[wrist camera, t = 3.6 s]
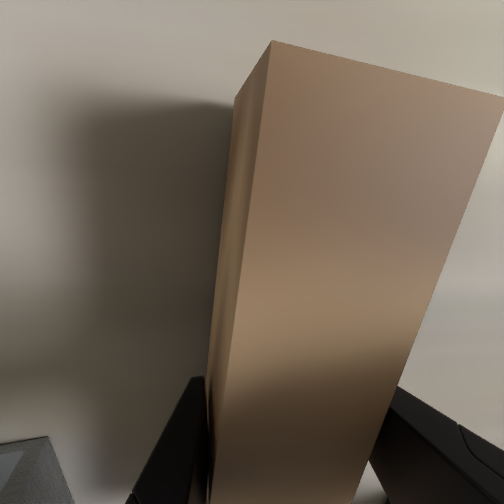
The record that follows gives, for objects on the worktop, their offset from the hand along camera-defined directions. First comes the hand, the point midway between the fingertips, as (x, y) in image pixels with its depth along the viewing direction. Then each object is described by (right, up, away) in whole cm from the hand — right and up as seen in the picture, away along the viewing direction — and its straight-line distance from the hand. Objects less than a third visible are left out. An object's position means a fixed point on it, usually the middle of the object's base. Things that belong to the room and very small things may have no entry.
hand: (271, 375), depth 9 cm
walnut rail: (0, +1, +1) cm, 1 cm away
